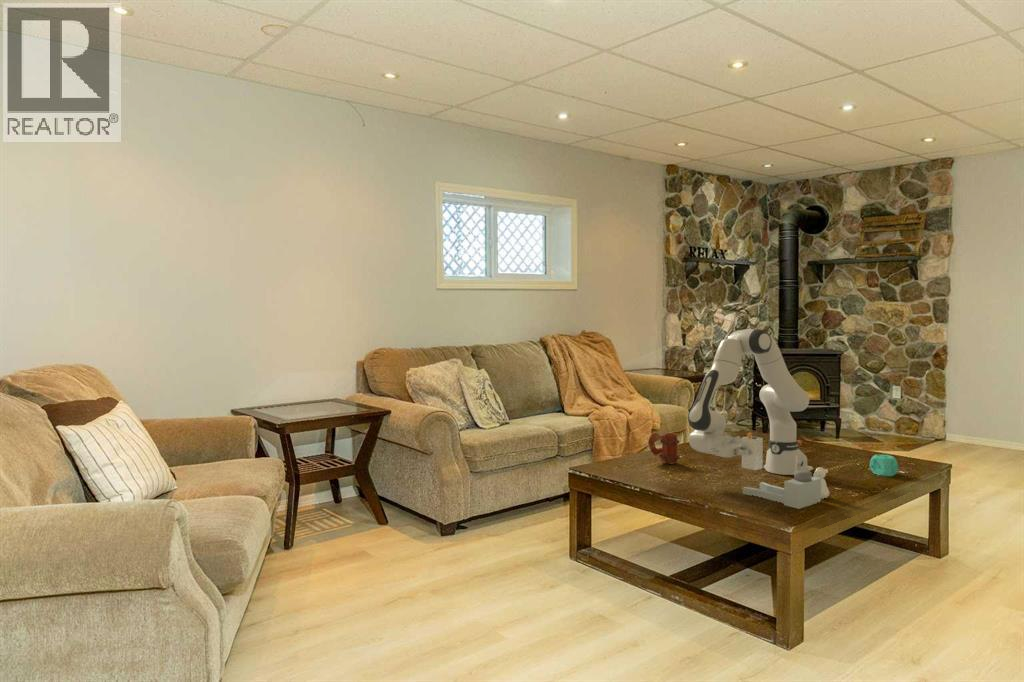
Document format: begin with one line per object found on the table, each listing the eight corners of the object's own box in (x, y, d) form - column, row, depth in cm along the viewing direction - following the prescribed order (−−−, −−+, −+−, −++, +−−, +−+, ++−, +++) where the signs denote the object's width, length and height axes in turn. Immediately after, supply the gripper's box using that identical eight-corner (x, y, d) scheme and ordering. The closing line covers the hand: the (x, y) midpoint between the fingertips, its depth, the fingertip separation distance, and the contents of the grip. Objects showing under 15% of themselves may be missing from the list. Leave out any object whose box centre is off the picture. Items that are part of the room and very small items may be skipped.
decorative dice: (885, 477, 294) (885, 459, 293) (869, 473, 301) (869, 455, 301) (898, 475, 297) (898, 457, 296) (882, 471, 304) (882, 453, 304)
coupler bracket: (762, 487, 279) (763, 458, 278) (820, 501, 259) (821, 470, 258) (740, 493, 270) (741, 464, 270) (798, 508, 250) (799, 476, 250)
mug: (678, 461, 325) (678, 430, 325) (681, 465, 317) (681, 434, 317) (647, 461, 327) (647, 430, 326) (649, 465, 319) (649, 433, 318)
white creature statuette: (816, 492, 272) (817, 462, 271) (836, 497, 264) (836, 467, 263) (800, 495, 267) (801, 465, 266) (820, 501, 259) (820, 470, 259)
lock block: (749, 465, 272) (749, 431, 271) (762, 468, 267) (762, 433, 266) (741, 467, 269) (741, 433, 268) (755, 470, 264) (755, 435, 263)
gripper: (708, 442, 271) (738, 447, 260) (739, 435, 284) (768, 440, 272) (708, 457, 272) (738, 464, 261) (739, 450, 284) (768, 455, 273)
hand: (754, 451), depth 267 cm, fingers closed on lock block, 5 cm apart
